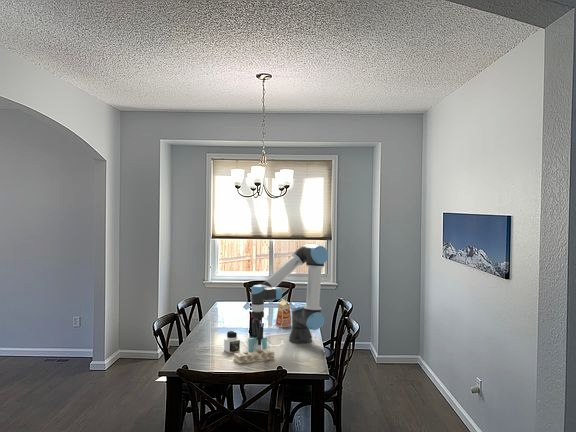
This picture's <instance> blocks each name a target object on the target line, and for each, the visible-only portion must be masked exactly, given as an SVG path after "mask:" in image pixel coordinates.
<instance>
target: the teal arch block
mask: <svg viewBox="0 0 576 432" xmlns="http://www.w3.org/2000/svg"><path fill="white" fill-rule="evenodd" d="M256 339H257V337H255V338H254V337H248V339H247V340H248V342H247V343H248V351H247V352H248V353H251V352H254V343H257V340H256ZM267 342H268V337H267V336H265V335H263V339H261V350H265V349H267V348H268V347H267V346H268V344H267Z"/></svg>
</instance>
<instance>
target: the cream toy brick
mask: <svg viewBox="0 0 576 432" xmlns="http://www.w3.org/2000/svg"><path fill="white" fill-rule="evenodd" d="M255 350H256V351H253V352H251V353H249V352H248V351H239V352H233V361H235V362H236V363H237V364H246V363H252V362H263V361H271V360H275V351H274V350H271V349H269V348H268V349H265V350H262V349H261V350H257V349H255Z"/></svg>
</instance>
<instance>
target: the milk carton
mask: <svg viewBox="0 0 576 432" xmlns="http://www.w3.org/2000/svg"><path fill="white" fill-rule="evenodd" d="M275 325H276V327H279V328H287V327H292V312H291V306H290V303H289V301H287V300H285V299H284V298H281V301H280V302H279V303H278V307H277V313H276V320H275ZM275 325H274V326H275Z"/></svg>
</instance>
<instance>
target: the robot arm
mask: <svg viewBox="0 0 576 432" xmlns="http://www.w3.org/2000/svg"><path fill="white" fill-rule="evenodd" d="M328 259H329V252H328V250H327V249H326V247H325V246H324V245H320V244H312V243H307V244H303V245H302V246H300V247H299V248H298V249H296V250H295V251H294V252H293V253H292V254H291V256H290V258H289V259H287V260H286V262H285V263H284V264H282V265H281V266H280V267H279V268H278V269H276V270H275V271H274V273H272V274H271V275H270V276H269V277H268V278H267V279H266V280H264V281H263V282H262V283H259V284H255V285H254V284H253V286H251V292H250V293H251V306H250V308H251V318H253V319H252V320H251V327H252V328H251V329H252V331H251V332H252V333H251V334H252V337H253V338H255V337H257V339H256V340H257V343H253V350H254V349H255V350H262V342H261V339H263V337H264V327H265V323H263V318H264V317H265V312H264V311H265V301H274V300H275V301H276V300H280V299H281V300H282V297H283V290H282V288H281V287H279V285H280V284H281V283H282V282H283V281H284V280H285V279H286V278H287V277H289V275H290V274H292V273H293V272H294V271H295V270H296V269H297V268H298V267H299V266H303V265H304V264H305V265H306V267H307V269H308V271H307V284H306V285H307V286H306V300H305V305H296V306H292V309H291V330H290V333H289V337H288V340H289V342H290V343H295V344H306V343H307V344H308V343H310V342H313V337H312V333H311V331H317V330H320V328H321V327H323V326H324V322H325V316H324V314H323V313H322V307H321V306H320V304H321V303H320V300H321V285H322V269H323V268H324V267H325V263H326V262H327V261H328Z"/></svg>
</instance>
